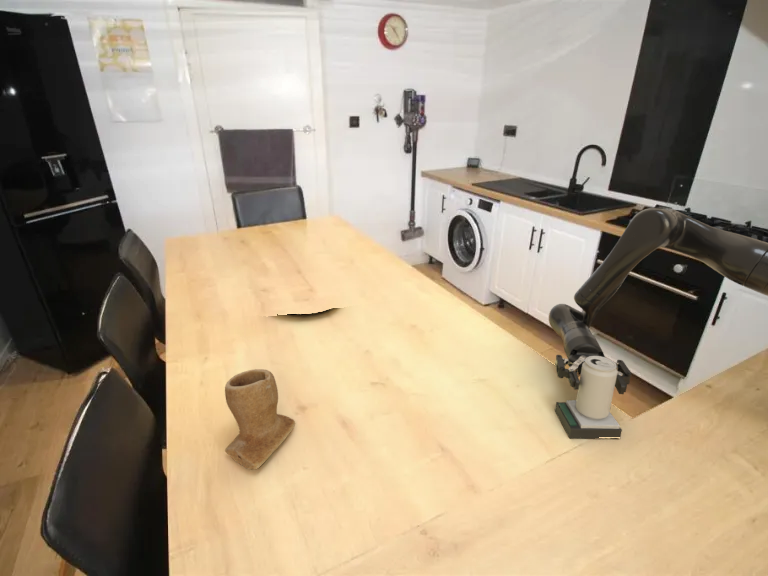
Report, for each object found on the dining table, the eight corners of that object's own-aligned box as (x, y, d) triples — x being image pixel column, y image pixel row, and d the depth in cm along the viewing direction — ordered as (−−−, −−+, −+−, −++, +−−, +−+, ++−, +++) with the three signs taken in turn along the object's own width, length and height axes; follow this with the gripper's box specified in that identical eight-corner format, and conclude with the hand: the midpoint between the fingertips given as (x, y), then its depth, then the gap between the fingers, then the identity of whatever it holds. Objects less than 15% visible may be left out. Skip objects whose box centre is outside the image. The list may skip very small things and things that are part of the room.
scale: (600, 411, 91) (602, 399, 90) (620, 439, 83) (622, 426, 82) (554, 411, 92) (556, 399, 91) (569, 438, 83) (571, 426, 82)
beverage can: (582, 398, 91) (590, 351, 86) (613, 411, 86) (623, 361, 82) (570, 412, 86) (577, 362, 82) (602, 426, 82) (612, 374, 78)
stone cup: (258, 414, 94) (249, 357, 88) (303, 426, 89) (295, 366, 84) (209, 460, 81) (195, 396, 75) (258, 477, 76) (247, 410, 71)
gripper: (551, 332, 97) (563, 368, 82) (618, 337, 94) (643, 375, 79) (548, 360, 100) (559, 400, 85) (612, 365, 96) (635, 408, 82)
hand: (599, 388), depth 82 cm, fingers open, 8 cm apart
